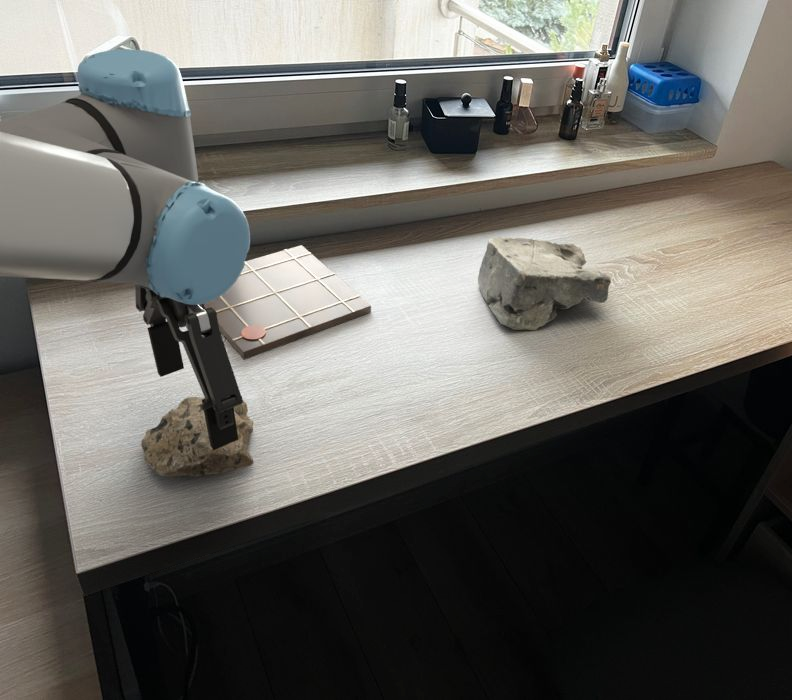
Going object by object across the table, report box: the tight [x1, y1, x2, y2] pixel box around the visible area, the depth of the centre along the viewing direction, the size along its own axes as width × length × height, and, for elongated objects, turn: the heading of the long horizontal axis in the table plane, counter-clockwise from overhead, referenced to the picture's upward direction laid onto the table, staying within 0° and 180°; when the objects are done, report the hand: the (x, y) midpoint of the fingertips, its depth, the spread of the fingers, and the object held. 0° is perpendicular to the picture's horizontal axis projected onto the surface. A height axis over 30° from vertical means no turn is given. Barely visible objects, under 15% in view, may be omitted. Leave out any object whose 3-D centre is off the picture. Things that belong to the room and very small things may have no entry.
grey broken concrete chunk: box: [477, 236, 612, 331], centre depth 111 cm, size 16×18×10 cm
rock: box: [140, 396, 255, 478], centre depth 81 cm, size 11×12×4 cm
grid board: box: [204, 244, 372, 360], centre depth 106 cm, size 20×20×1 cm
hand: (196, 405), depth 78 cm, fingers open, 13 cm apart
